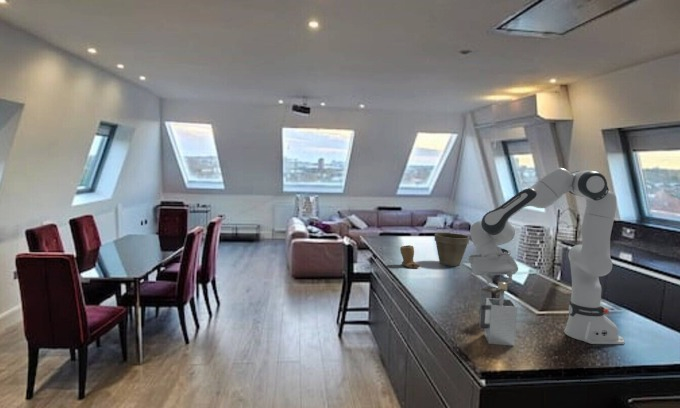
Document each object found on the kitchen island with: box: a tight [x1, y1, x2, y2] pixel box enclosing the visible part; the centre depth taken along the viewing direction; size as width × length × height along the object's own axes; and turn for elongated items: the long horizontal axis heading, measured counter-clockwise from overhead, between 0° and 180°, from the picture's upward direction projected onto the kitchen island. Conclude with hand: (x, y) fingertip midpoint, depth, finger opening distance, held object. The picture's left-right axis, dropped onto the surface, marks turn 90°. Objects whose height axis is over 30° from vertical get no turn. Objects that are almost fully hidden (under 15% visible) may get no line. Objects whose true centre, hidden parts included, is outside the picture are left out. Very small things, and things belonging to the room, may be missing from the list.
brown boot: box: [399, 244, 421, 269], centre depth 309 cm, size 15×12×15 cm
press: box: [478, 298, 518, 347], centre depth 180 cm, size 13×10×16 cm
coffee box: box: [478, 285, 500, 325], centre depth 200 cm, size 9×6×16 cm
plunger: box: [497, 281, 508, 306], centre depth 180 cm, size 8×8×22 cm
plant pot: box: [434, 232, 470, 267], centre depth 322 cm, size 25×25×22 cm
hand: (500, 282), depth 180 cm, fingers open, 8 cm apart
